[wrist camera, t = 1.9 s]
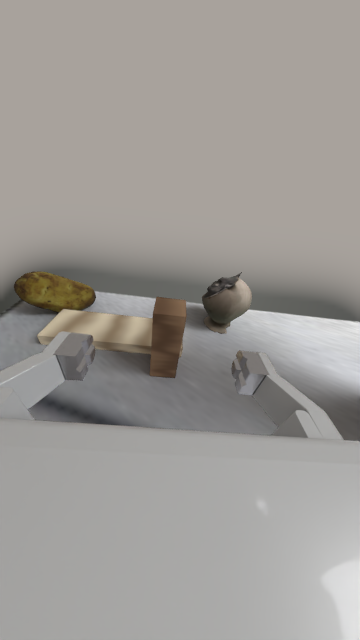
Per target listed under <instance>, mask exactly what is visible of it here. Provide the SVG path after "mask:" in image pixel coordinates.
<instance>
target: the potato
mask: <svg viewBox="0 0 360 640" xmlns="http://www.w3.org/2000/svg"><path fill="white" fill-rule="evenodd" d="M14 289H15V292H16V293H17V295H18V296H19V297H20V298H21V299H22V300H23V301H25V302H27V303H29V304H31V305H34V306H36V307H39V308H43V309H50V310H52V311H56V312H61V311H62V310H63V309H68V310H77V311H78V310H82V309H84V308H86V307H88V306H90V305H91V304H93V303H94V301H95V298H96V295H95V292H94V290H93V289H92V288H91V287H89V286H87V285H85V284H82V283H79V282H76V281H73V280H69V279H66V278H64V277H60V276H56V275H54V274H50V273H47V272H31V273H27V274H24V275H23V276H21V278H19V279H18V280H17V281H16V282H15V284H14Z"/></svg>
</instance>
